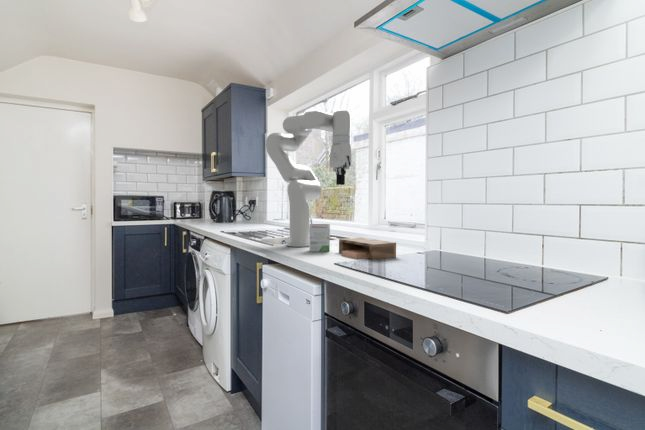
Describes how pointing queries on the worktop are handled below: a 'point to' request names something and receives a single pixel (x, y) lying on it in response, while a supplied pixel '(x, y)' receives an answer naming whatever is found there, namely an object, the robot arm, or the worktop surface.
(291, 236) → the robot arm
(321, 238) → the ink box
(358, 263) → the worktop surface
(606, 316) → the worktop surface
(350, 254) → the tile
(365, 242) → the shelf
